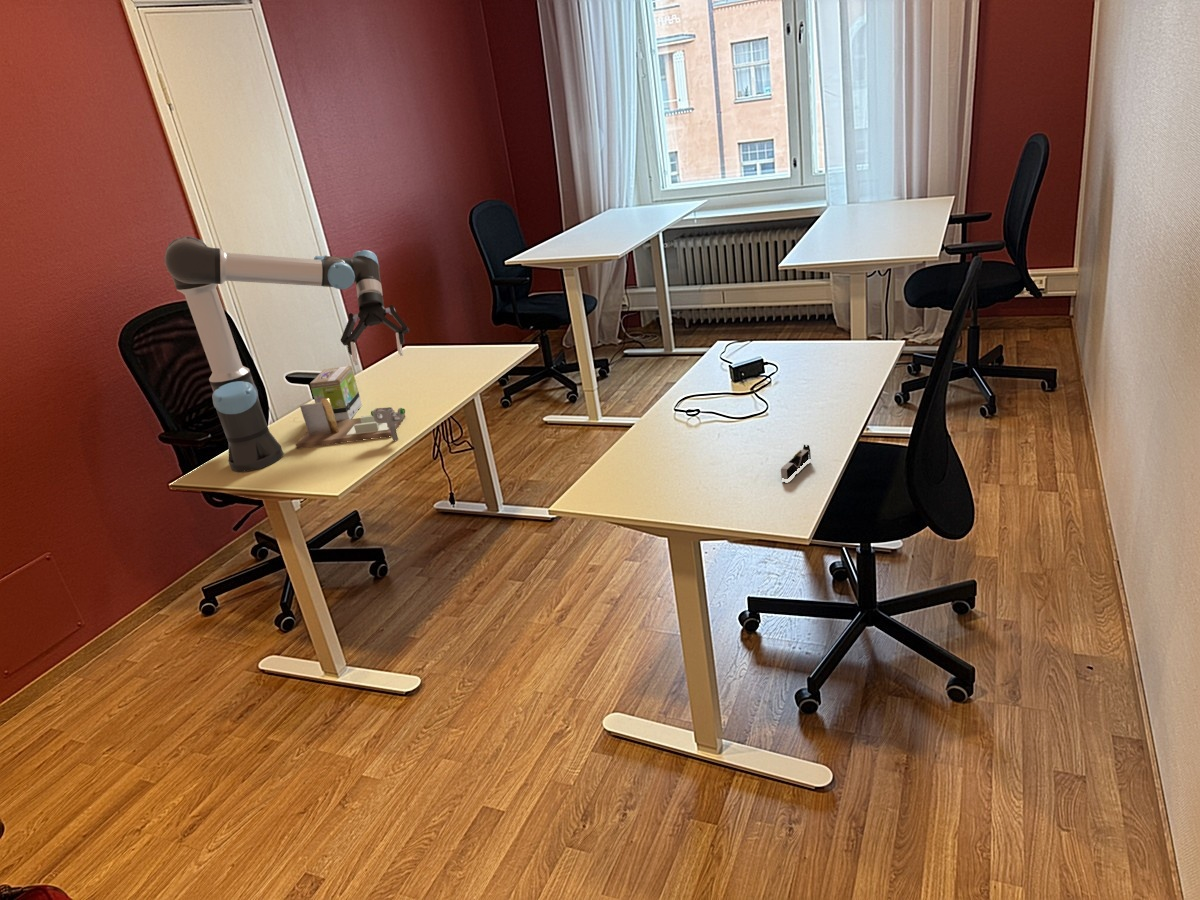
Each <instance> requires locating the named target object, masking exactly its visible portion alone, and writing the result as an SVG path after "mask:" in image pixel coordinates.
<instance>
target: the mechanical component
mask: <svg viewBox="0 0 1200 900" xmlns="http://www.w3.org/2000/svg"><path fill="white" fill-rule="evenodd" d="M370 415H372V416H373V417H374V420H375V422H377V423H387V427H388V428H390V431H391V435H392V437H391V438H392V441H393V440H394V441H393V442H396V441H395V440H397V441H398V440H399V437H398V433H397V430H396V429H395V426H396V424H395V422H400V421H401V420H402V419H403V418H404V417H405V418H406V409H405V408H402V407H399V408H398V409H397V412H396V410H394V409H393V407H392V406H391V407H378V408H377V407H376V408H375V409H373V410H371V411H370ZM397 416H399V417H400V418H395V417H397ZM405 418H404V419H405Z"/></svg>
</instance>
